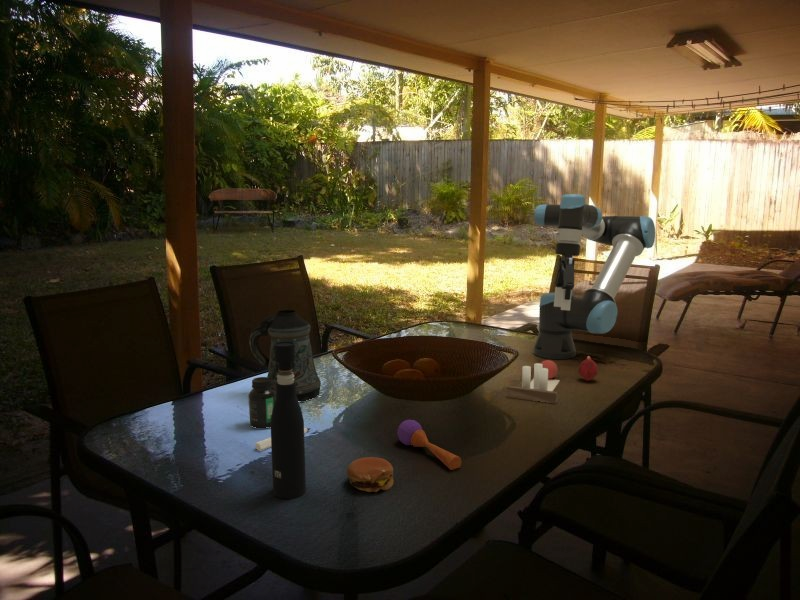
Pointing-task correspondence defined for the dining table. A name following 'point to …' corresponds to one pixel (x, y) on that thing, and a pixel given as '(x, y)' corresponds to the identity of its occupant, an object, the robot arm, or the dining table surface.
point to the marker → (269, 442)
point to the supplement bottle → (261, 402)
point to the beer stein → (297, 331)
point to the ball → (550, 368)
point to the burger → (370, 474)
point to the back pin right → (526, 376)
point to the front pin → (537, 374)
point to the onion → (588, 369)
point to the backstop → (532, 394)
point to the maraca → (425, 443)
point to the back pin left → (543, 379)
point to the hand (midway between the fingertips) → (561, 308)
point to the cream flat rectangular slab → (551, 384)
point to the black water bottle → (287, 429)
